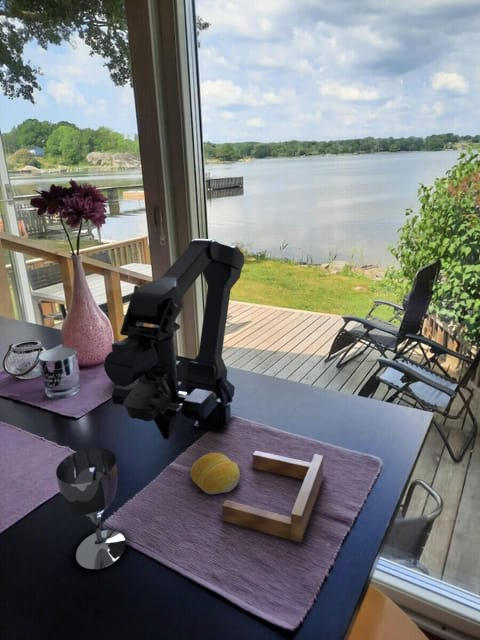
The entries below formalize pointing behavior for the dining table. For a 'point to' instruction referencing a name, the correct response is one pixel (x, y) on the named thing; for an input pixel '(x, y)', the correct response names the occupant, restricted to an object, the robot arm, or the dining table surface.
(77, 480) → the wine glass
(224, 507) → the open wooden frame
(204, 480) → the bread roll
